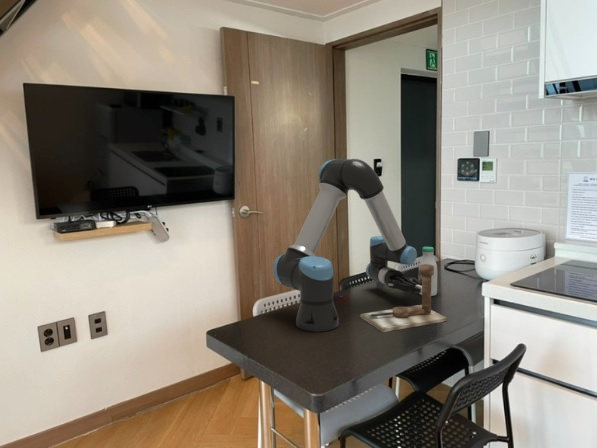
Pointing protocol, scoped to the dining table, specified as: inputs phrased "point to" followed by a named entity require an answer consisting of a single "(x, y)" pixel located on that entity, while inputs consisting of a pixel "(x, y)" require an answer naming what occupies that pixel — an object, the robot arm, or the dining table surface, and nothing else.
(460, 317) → the dining table surface
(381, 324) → the beige flat rectangular board
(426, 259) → the milk bottle
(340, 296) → the cell phone
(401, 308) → the wooden l-shaped rod
